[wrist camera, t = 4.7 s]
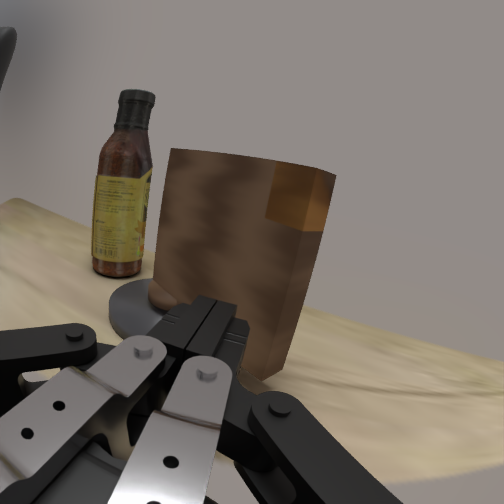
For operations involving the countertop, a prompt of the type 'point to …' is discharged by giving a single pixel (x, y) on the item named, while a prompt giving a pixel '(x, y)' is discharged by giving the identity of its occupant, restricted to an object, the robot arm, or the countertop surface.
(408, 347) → the countertop surface
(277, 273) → the brown wooden block
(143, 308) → the base
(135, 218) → the sauce bottle
